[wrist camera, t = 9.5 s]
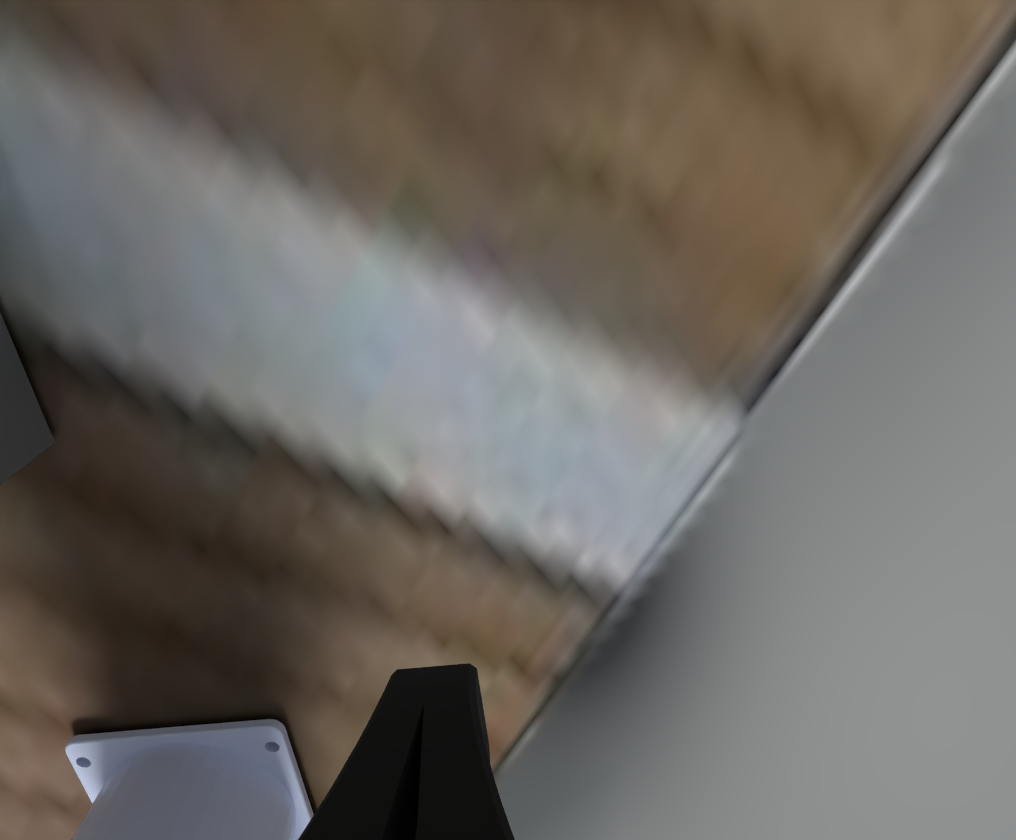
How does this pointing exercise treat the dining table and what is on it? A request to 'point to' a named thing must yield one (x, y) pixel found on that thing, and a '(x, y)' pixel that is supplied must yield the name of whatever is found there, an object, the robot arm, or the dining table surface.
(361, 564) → the dining table surface
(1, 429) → the grey stepped block
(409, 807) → the robot arm
